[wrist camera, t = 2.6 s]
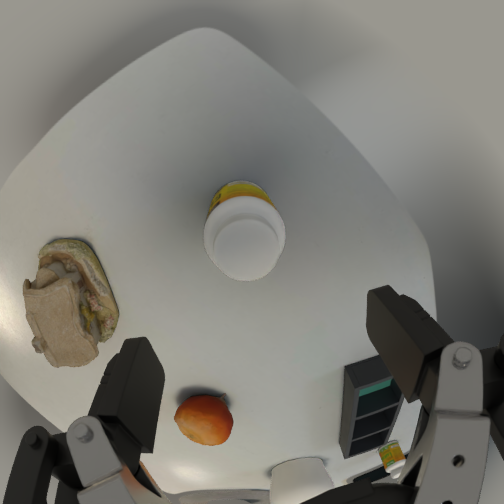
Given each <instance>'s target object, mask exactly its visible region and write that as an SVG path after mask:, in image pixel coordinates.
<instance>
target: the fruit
mask: <svg viewBox="0 0 504 504" xmlns="http://www.w3.org/2000/svg"><path fill="white" fill-rule="evenodd" d="M225 395H226V393H224V395H223V396H221V397H214V396H209V395H200V396H191V397H189V398H188V399H187V400H186V401H184V402H183V403H182V404H181V405H180V406H179V407H178V409H177V411H176V414H175V416H174V420H175V422H176V423H177V425H178V427H179V429H180V431H181V432H182V433H183V434H184V435H185V436H187V437H188V438H189V439H190V440H192V441H194V442H196V443H200V444H202V445H209V446H214V445H219V444H222V443H224V442H225V441H226V440H227V439H228V437H229V436H230V434H231V430H232V427H233V418H232V415H231V413H230V412H229V410H228V407H227V405H226V403H225V400H224V396H225Z"/></svg>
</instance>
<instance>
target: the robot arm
mask: <svg viewBox="0 0 504 504" xmlns="http://www.w3.org/2000/svg"><path fill="white" fill-rule="evenodd" d="M366 328H367V333H368V336H369V339H370V340H371V342H372V344H373V345H374V347H375V348H376V350H377V352H378V353H379V355H380V357H381V358H382V360H383V361H384V363H385V365H386V366H387V368H388V370H389V371H390V373H391V375H392V376H393V378H394V380H395V381H396V383H397V385H398V386H399V388H400V390H401V391H402V393H403V395H404V397H405V398H406V400H407V402H408V404H409V403H411V402H413V401H415V400H418V399H420V401H421V403H422V406H421V409H420V414H419V418H418V422H417V427H416V430H415V434H414V438H413V442H412V445H411V449H410V452H409V455H408V457H407V460H406V462H405V464H404V466H403V468H402V471H401V473H400V476H399V478H398V481H397V483H375V484H371V481H370V478H369V477H368V478H365V479H362V480H360V481H357V482H354V483H350V484H347V485H344V486H341V487H337V488H334V489H330V490H328V491H326V492H324V493H321V494H319V495H317V496H315V497H313V498H311V499H309V500H306V501H304V502H302V503H300V504H478V502H479V498H480V494H481V489H482V484H483V479H484V474H485V469H486V462H487V455H488V447H489V438H490V435H491V437H492V439H493V441H494V443H495V444H496V446H497V448H498V450H499V452H500V454H501V456H502V458H503V460H504V335H502V337H501V339H500V341H499V344H498V346H496V347H492V348H487V349H483V350H478V349H477V348H476V347H475V346H473V345H472V344H469V343H466V342H454V341H453V340H452V339H451V338H450V336H449V335H448V334H447V333H446V332H445V331H444V330H443V329H442V328H441V327H440V326H439V324H438V323H437V322H436V321H435V320H434V319H433V318H432V317H430V315H429V314H428V313H427V312H426V311H425V310H423V308H422V306H421V305H420V304H419V303H418V302H417V301H416V300H414V299H412V298H410V297H408V296H406V295H404V294H403V295H400V296H399V295H398V294H397V293H396V292H395V291H394V289H393V288H392V287H391V286H389V285H386V286H382V287H379V288H375V289H372V290H369V291H368V294H367V317H366ZM100 383H101V384H100V385H99V387H98V389H97V392H96V394H95V397H94V400H93V402H92V405H91V408H90V410H89V413H88V416H83V417H80V418H78V419H76V420H75V421H74V422H73V423H72V424H71V425H70V427H69V428H68V431H67V432H65V433H60V434H55V435H51V434H50V433H49V432H48V431H47V430H46V429H45V428H43V427H42V426H34V427H32V428H30V429H29V430H28V431H26V433H25V434H24V436H23V438H22V440H21V443H20V446H19V449H18V451H17V455H16V457H15V461H14V464H13V467H12V470H11V474H10V477H9V480H8V484H7V488H6V492H5V496H4V500H3V504H47V500H46V498H47V492H48V488H49V483H50V479H51V475H52V476H54V477H55V478H57V479H58V480H59V483H58V488H57V493H56V498H55V504H172V503H171V502H170V501H169V500H168V499H167V497H166V496H165V495H164V493H163V492H162V491H161V489H160V488H159V486H158V485H157V484H156V482H155V481H154V479H153V478H152V477H151V475H150V474H149V472H148V471H147V469H146V468H145V466H144V465H143V463H142V462H141V461H140V455H141V453H153V448H154V441H155V435H156V428H157V422H158V416H159V410H160V405H161V399H162V394H163V388H164V383H165V374H164V370H163V367H162V365H161V363H160V361H159V359H158V357H157V355H156V354H155V352H154V350H153V348H152V346H151V344H150V342H149V340H148V339H147V338H146V337H138V338H130V339H126V340H125V341H124V343H123V345H122V348H121V350H120V353H116V355H115V356H114V357H113V358H112V359H111V360H110V361H109V363H108V364H107V367H106V369H105V372H104V376H103V377H102V379H101V382H100Z"/></svg>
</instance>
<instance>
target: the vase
mask: <svg viewBox="0 0 504 504" xmlns="http://www.w3.org/2000/svg"><path fill="white" fill-rule="evenodd" d="M271 475H272V479H271V486H270V502H271V504H300V503H302V502H304V501H306V500H309V499H311V498H313V497H315V496H317V495H319V494H321V493H324V492H326V491H328V490H330V489H334V488H335V487H334V483H333V481H332V479H331V477H330V475H329V474H328V472H327V470H326V469H325V467H324V465H323V462H322V460H321V459H319V458H310V457H309V458H300V459H295V460H291V461H287V462H284V463H281V464H279V465H277V466H276V467H274V468H273V469H272V471H271Z"/></svg>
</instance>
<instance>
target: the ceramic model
mask: <svg viewBox="0 0 504 504" xmlns="http://www.w3.org/2000/svg"><path fill="white" fill-rule="evenodd" d="M38 258H39V259H40V260H39V266H38V272H37V275H36V280H34V281H33V282H32V283H31V282H30V281H29V279H25V281H24V285H23V296H24V300H25V308H26V318H27V321H28V323H29V325H30V327H31V329H32V332H33V334H34V335H35V337H34V338H33V340H32V346H33V347H34V348H35V351H36V352H37V353H44V355H45V357H46V359H47V360H48V362H49V363H50V364H51V365H52V366H54V367H57V368H59V367H61V366H70V367H81V366H84V365H87V364H88V363H90V362H91V361H92V360H94V359H95V358H96V357H97V356H98V354H99V351H98V348H97V344H98V342H104V343H105V341H106V340H108V339H109V338H111V337H112V335H113V332H114V330H115V328H116V325H117V321H118V317H119V311H118V308H117V305H116V303H115V300H114V297H113V295H112V292H111V289H110V287H109V284H108V281H107V279H106V277H105V274H104V272H103V270H102V268H101V265H100V264H99V261H98V259H97V258H96V256H95V254H94V253H93V252H92V250H91V249H90V248H89V247H88V246H87V245H86V244H85V243H83V242H81V241H77V240H68V239H60V240H57V241H55V242H53V243H51V244H47V245H46V246H44V247H43V248H42V249H41V250H40V252H39V255H38Z"/></svg>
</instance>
